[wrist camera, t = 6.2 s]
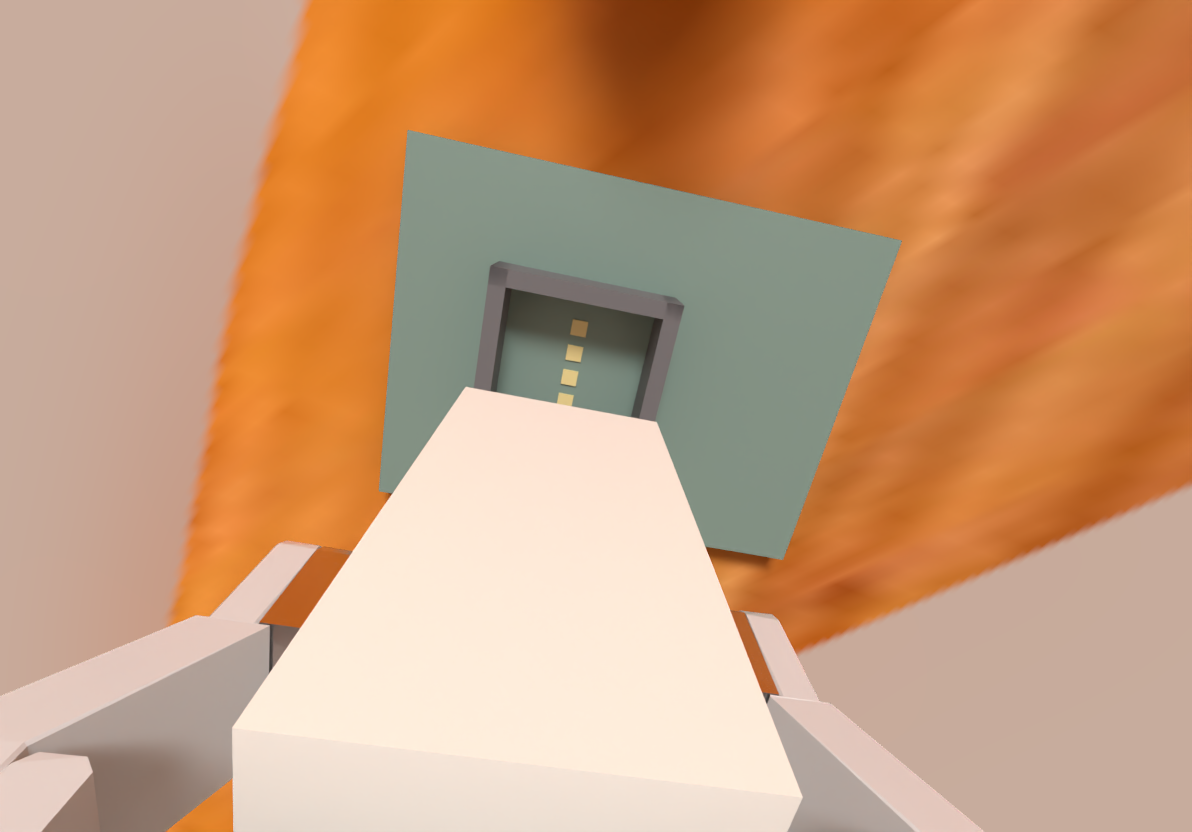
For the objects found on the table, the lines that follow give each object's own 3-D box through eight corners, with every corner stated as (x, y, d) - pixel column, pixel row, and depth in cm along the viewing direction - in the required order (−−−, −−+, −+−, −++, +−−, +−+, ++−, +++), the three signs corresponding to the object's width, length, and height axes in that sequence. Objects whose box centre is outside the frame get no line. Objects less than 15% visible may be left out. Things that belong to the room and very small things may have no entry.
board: (885, 239, 21) (934, 243, 18) (774, 545, 26) (798, 587, 23) (417, 134, 20) (388, 120, 17) (388, 478, 25) (360, 515, 22)
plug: (656, 422, 12) (803, 797, 4) (612, 596, 13) (658, 1114, 5) (465, 386, 11) (231, 727, 4) (441, 570, 13) (236, 1090, 5)
